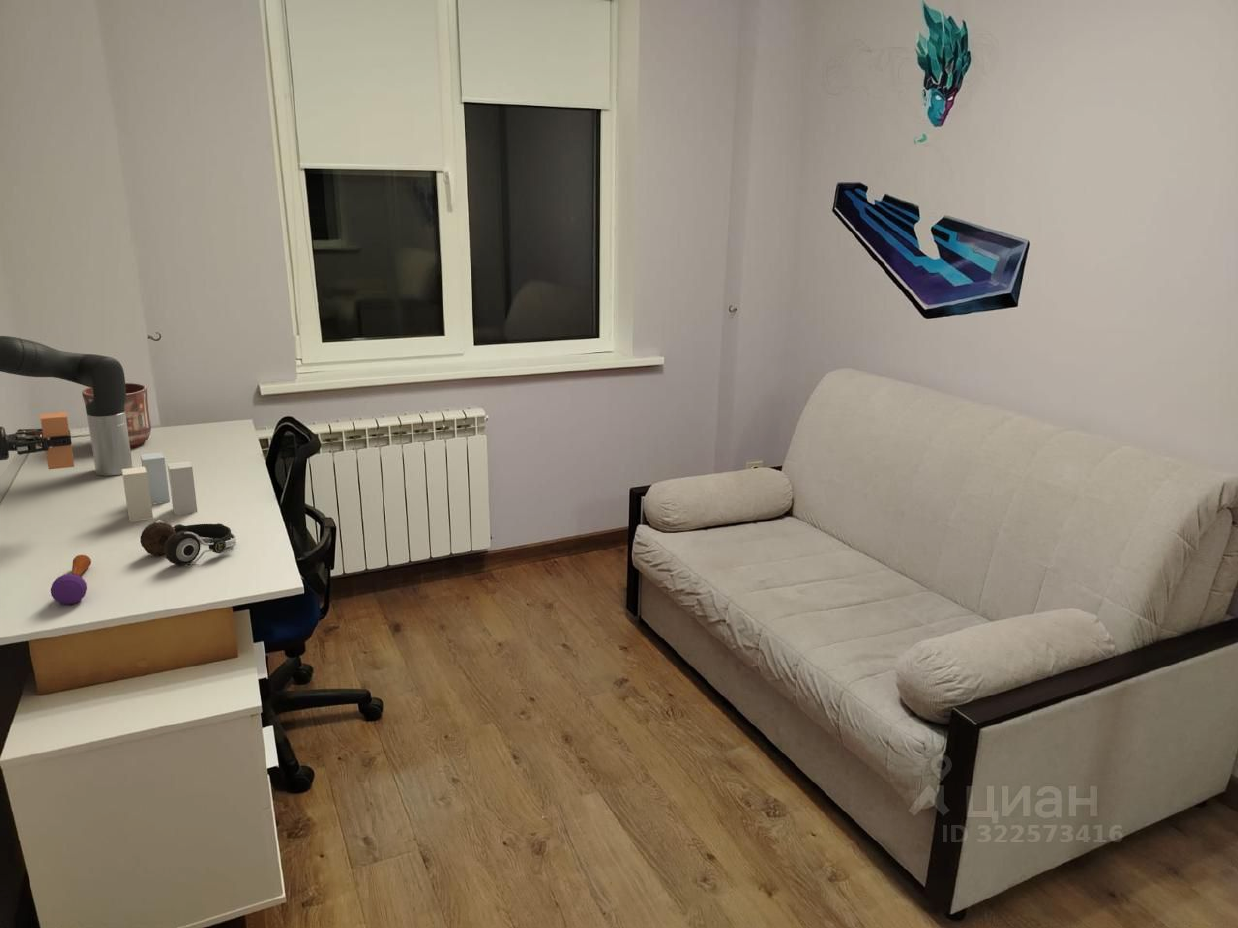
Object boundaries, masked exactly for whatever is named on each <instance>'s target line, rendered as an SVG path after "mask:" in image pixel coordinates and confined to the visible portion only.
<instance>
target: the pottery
mask: <svg viewBox="0 0 1238 928" xmlns="http://www.w3.org/2000/svg"><path fill="white" fill-rule="evenodd" d="M125 387H126V402H125V405H124V408H125V416H126V422H127V429H128V437H129V444H130V449H134V448H138V447H140V446H142V445H144V444H145V443H146V442H147V440H149V437H150V435H151V430H152V425H151V418H150V413H149V403H148V387H147V386H146V385H143V384H140V383H134V382H133V383H132V382H131V383H130V382H125ZM81 393H82V394H81V395H82V399H83V401H84V402H83V403H84V404H85V407H86V404H87V403H88V402H91V401H93V388H91V387H86V388H85V389H83V390H82V391H81Z"/></svg>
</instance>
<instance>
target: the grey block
mask: <svg viewBox="0 0 1238 928" xmlns="http://www.w3.org/2000/svg"><path fill="white" fill-rule="evenodd" d="M166 466H167V471H168V479H169V480H168V481H169V486H170V494H171V495H170V497H171V501H172V502H171V503H172V504H171V505H172V510H173V511H174V515H175V516H177V515H183V514H184V515H185V514H190V513H197V512H198V505H197V504H198V503H197V496H196V487H195V477H194V471H193V470H194V469H193V465H192V463H191V462H190V461H189V460H188V461H179V462H172V463H170V462H169V463H167V465H166Z"/></svg>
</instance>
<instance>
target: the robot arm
mask: <svg viewBox="0 0 1238 928" xmlns="http://www.w3.org/2000/svg"><path fill="white" fill-rule="evenodd" d="M0 372H1V373H4V374H5V373H6V374H9V375H16V376H23V377H30V378H32V377H33V378H54V379H55V378H56V379H60V380H63V381H69V382H72V383H75V384H78V385H82V386H85V387H86V388H89V387H91V388H93V401H91V402H88V403H87V404H86V406H85V412H86V417H87V424H88V430H89V437H90V444H91V450H92V456H93V457H92V458H93V463H94V468H95V469H94V470H95V474H96V475H98V476H103V477H104V476H106V477H107V476H108V477H109V476H119V475H122V469H128V468H134V466H133V460H132V453H131V448H130V444H129V437H128V429H127V422H126V416H125V408H124V405H125V402H126V387H125V383H126V377H125V373H124V369H123V365H122V364H121V363H120V361H119V360H117V359H116V358H114V357H111V356H106V355H100V354H92V353H90V354H89V353H78V352H69V351H62V350H58V349H56V348H53V347H51V346H48V345H46V344H43V343H40V342H37V341H33V340H30V339H24V338H20V337H15V336H9V335H0ZM16 430H17V431H15V433H11V434H7V433H6V430H5V428H4V426H0V461H7V460H8V459H9V458H10V452H16V453H17V455H20V456H21V455H26V454H33V453H39V452H46V451H47V450H49V449H50V448H52V446H53V447H56V446H66V445H71V446H72V436H71V430H70V429H69V434H70V436H69V435H66V436H55V437H43V431H42V428H25V429H24V428H23V429H20V428H19V429H16Z"/></svg>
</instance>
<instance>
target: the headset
mask: <svg viewBox="0 0 1238 928" xmlns="http://www.w3.org/2000/svg"><path fill="white" fill-rule="evenodd" d="M202 538H208V539H211V540H210V541H209V542H208V543H206V542H205V541H204V540H203V539H202ZM236 539H237V538H236V535H235V534H234V533H232V530H231V528H230V527H228V526H227V525H224V524H223V523H199V524H197V523H196V524H188V525H185V524H184V525H183V524H182V523H178V524H176V525H174V526H172V525H171V524H170V523H167V522H164V521H162V520H160V519H159V520H156V521H155V522H153V523H151V524H149V525H147V526H146V527H145V528H144V529H143V530H142V533H141V535H140V544H141V547H142V548H143V549H144V550H145V551H146V552H147V553H148V554H150V555H152V556H161V555H164V556H165V558H166V559H167V561H169V563H171V564H174V565H183V566H184V565H186V566H188V565H187V564H191V565H193V563H194V564H196V563H197V562H198V561H199V560H200V559H201V558H202V556H203V555H204V554H205V553H207V552H213V553H216V554H221V553H223V552H225V550H226V549H228V548H231V547H235V546H236V542H237V541H236ZM201 543H202V544H203V545H205V546H208V549H206V550H204V551H202V553H201V554H200V551H201ZM199 554H200V555H199Z"/></svg>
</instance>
